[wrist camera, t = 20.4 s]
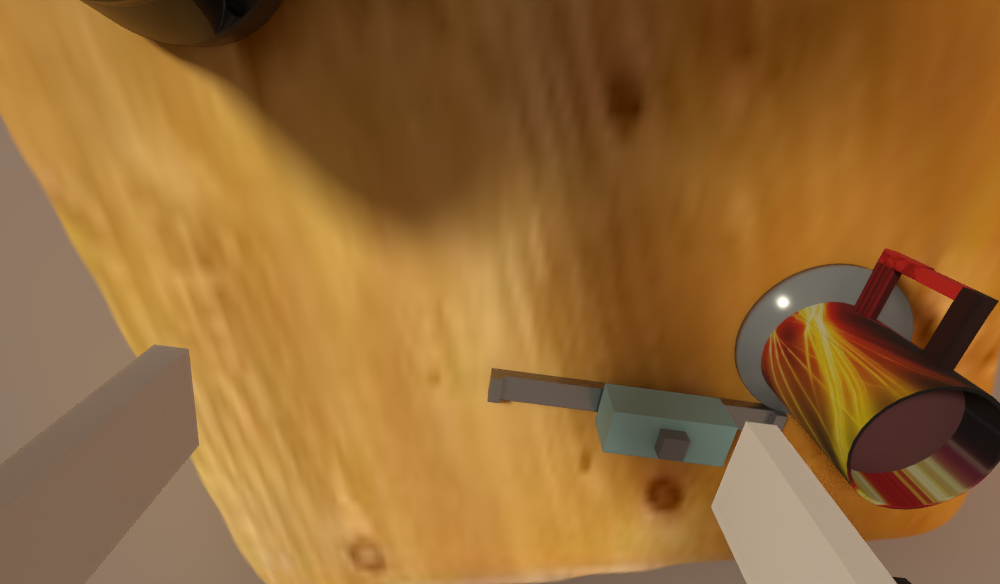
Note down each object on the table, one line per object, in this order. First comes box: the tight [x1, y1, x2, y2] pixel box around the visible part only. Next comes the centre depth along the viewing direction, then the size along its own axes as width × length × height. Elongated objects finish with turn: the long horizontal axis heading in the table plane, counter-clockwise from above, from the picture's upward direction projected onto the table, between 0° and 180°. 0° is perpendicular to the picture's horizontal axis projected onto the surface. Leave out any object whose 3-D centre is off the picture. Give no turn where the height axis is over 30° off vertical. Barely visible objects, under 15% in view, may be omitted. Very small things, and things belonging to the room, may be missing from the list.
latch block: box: [595, 383, 738, 467], centre depth 43 cm, size 4×10×5 cm, turn 82°
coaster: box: [735, 264, 913, 414], centre depth 43 cm, size 14×14×1 cm
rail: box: [488, 368, 788, 431], centre depth 45 cm, size 2×26×2 cm, turn 82°
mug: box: [761, 249, 1000, 509], centre depth 37 cm, size 10×14×12 cm
